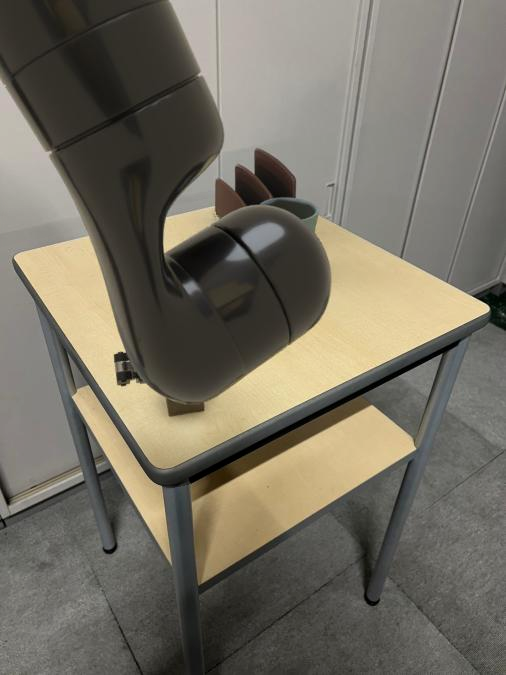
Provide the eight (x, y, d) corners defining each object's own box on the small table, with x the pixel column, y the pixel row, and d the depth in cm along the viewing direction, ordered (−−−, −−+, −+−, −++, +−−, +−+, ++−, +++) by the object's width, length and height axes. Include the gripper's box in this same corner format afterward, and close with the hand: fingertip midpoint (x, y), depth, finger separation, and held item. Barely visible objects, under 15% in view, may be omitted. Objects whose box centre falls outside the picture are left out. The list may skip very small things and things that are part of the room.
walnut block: (168, 416, 63) (163, 366, 58) (164, 392, 66) (159, 342, 62) (204, 410, 64) (202, 360, 59) (198, 387, 67) (196, 338, 62)
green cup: (273, 291, 87) (277, 225, 79) (245, 265, 94) (246, 202, 87) (323, 278, 91) (331, 213, 83) (293, 254, 98) (297, 192, 91)
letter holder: (256, 206, 116) (258, 142, 107) (294, 244, 101) (300, 173, 92) (214, 212, 112) (212, 146, 104) (247, 252, 98) (248, 179, 89)
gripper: (275, 292, 43) (243, 326, 59) (99, 312, 40) (114, 342, 56) (291, 381, 42) (253, 392, 58) (111, 409, 39) (123, 412, 55)
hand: (185, 367), depth 57 cm, fingers open, 8 cm apart
